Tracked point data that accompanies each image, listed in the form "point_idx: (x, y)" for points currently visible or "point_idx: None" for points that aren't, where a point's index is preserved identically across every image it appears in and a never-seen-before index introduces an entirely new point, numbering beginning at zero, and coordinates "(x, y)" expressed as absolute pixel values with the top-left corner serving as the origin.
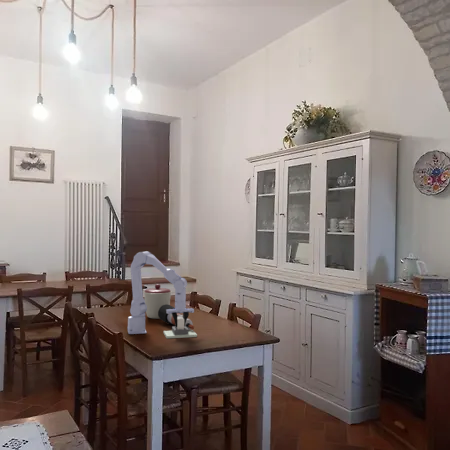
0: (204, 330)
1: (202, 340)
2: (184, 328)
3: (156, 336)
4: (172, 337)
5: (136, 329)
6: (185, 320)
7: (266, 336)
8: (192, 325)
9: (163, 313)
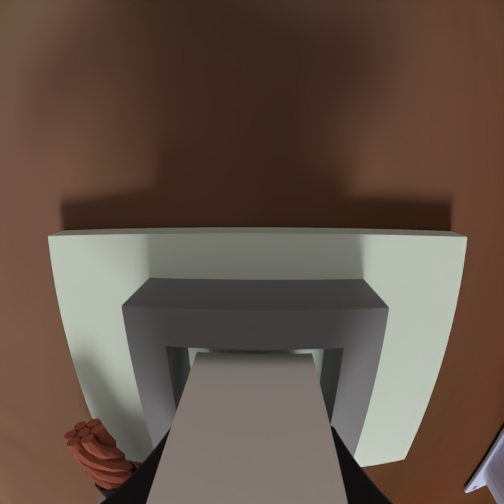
0: (34, 435)
1: (46, 57)
2: None
3: (496, 339)
4: (391, 230)
5: None
6: (127, 498)
7: None
8: (76, 454)
9: None
